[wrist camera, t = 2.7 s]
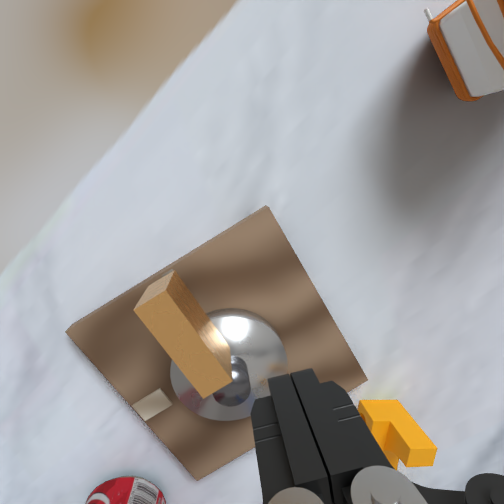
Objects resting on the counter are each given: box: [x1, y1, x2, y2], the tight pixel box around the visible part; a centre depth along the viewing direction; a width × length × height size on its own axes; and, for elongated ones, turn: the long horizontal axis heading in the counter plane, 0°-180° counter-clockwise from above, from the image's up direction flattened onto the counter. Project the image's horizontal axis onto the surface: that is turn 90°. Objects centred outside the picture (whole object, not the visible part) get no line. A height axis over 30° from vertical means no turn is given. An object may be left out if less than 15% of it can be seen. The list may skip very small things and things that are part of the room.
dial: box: [134, 270, 288, 421], centre depth 24 cm, size 15×10×6 cm, turn 31°
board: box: [65, 206, 368, 481], centre depth 29 cm, size 20×20×2 cm
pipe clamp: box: [358, 400, 437, 470], centre depth 31 cm, size 12×4×6 cm, turn 175°
